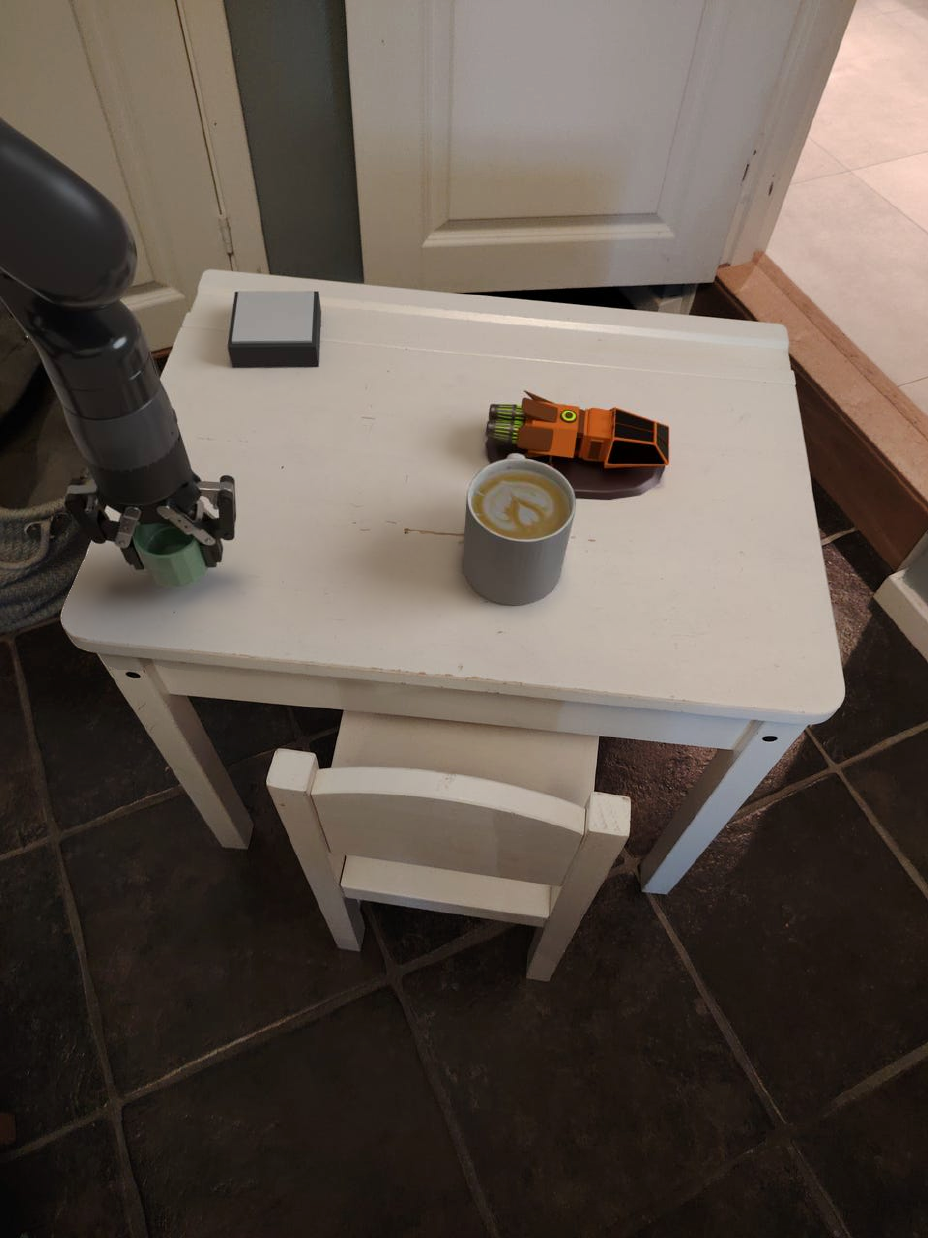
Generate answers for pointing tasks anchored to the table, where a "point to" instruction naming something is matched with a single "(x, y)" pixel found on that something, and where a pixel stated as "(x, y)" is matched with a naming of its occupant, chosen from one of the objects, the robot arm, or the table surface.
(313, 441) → the table surface
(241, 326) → the scale
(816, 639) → the table surface
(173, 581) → the green cup
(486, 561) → the coffee mug
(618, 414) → the toy spacecraft
